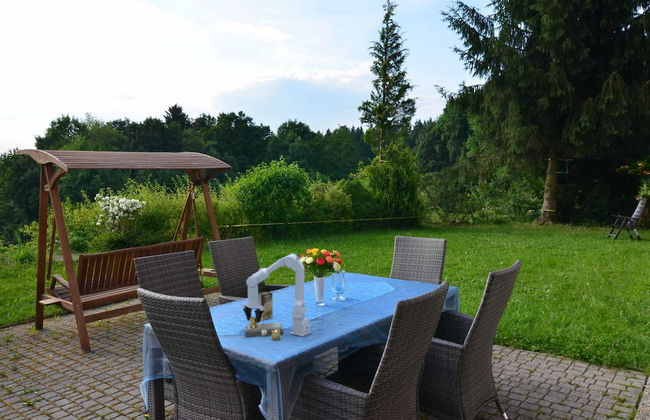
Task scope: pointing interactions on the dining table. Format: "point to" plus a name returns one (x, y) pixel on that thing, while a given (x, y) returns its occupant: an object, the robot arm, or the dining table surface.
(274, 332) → the cylinder
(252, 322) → the cylinder
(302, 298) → the robot arm
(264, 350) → the dining table surface
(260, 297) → the coffee box
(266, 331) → the scale
